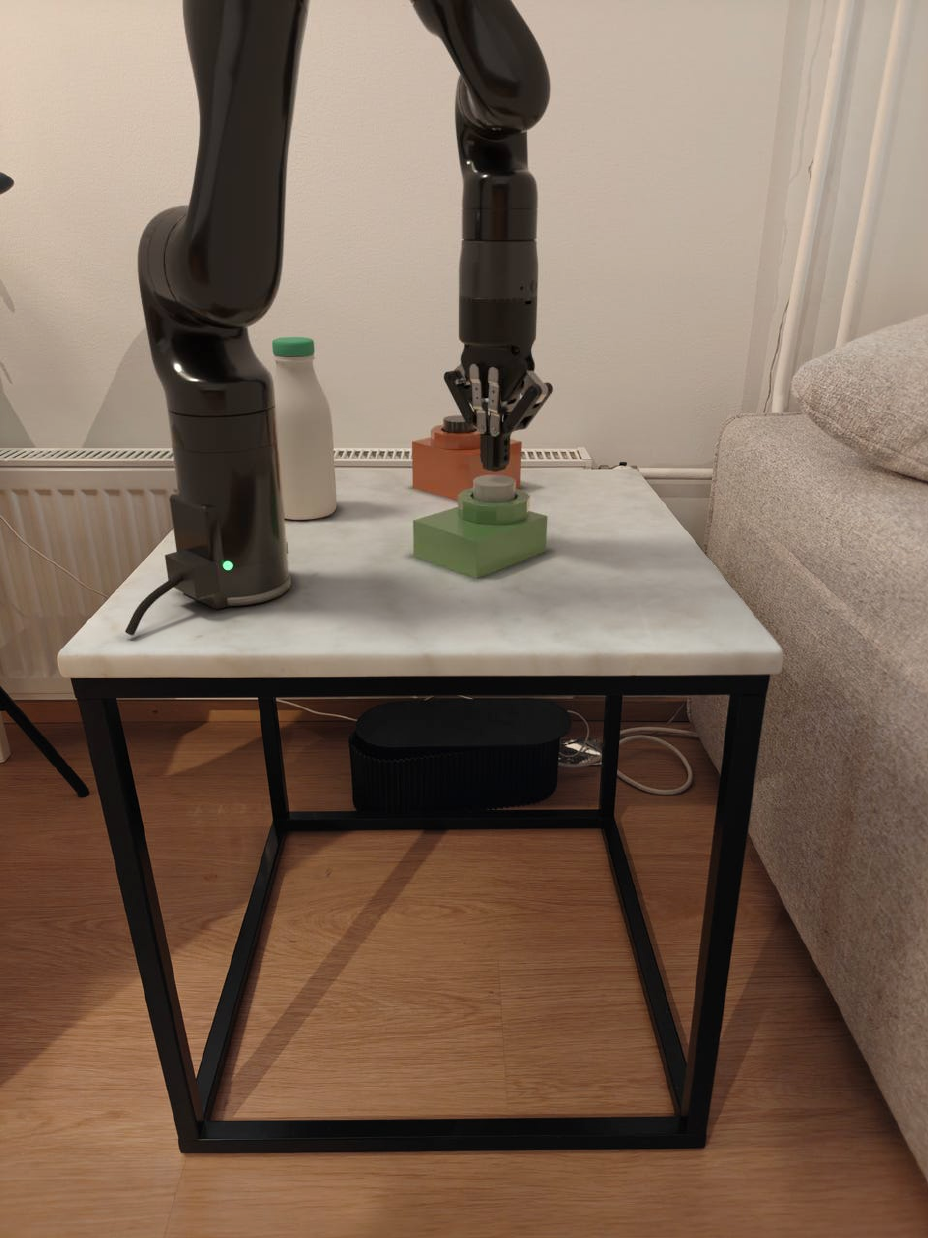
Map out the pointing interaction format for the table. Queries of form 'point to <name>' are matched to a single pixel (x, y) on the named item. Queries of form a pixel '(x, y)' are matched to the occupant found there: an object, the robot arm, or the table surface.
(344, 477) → the table surface
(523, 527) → the green push button housing
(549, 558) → the table surface
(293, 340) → the milk bottle
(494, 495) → the light grey push button
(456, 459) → the terracotta push button housing
